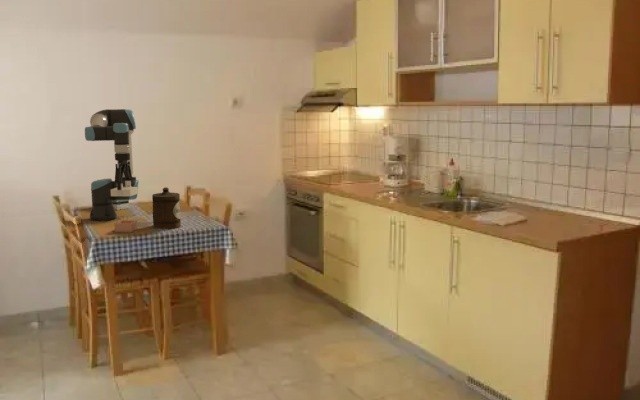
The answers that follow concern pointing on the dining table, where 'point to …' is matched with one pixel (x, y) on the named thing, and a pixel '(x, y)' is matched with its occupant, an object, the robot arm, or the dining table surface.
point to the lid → (125, 191)
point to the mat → (143, 224)
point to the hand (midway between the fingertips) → (124, 194)
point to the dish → (126, 226)
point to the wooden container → (166, 210)
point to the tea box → (120, 204)
